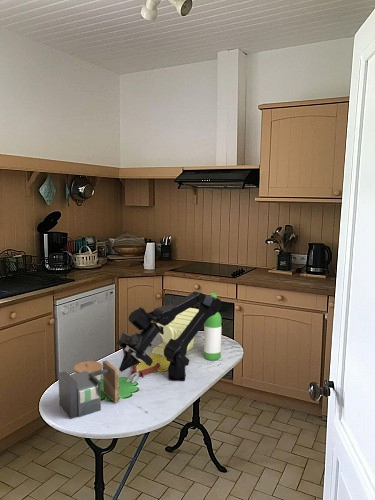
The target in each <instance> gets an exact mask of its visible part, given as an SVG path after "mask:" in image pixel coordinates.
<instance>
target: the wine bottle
mask: <svg viewBox="0 0 375 500" xmlns="http://www.w3.org/2000/svg"><path fill="white" fill-rule="evenodd" d="M209 296H212V297H215V298H218V295H217V293H214V292H213V293H212V292H211V293H210V295H209ZM203 326H204V327H203V328H204V330H203V331H204V333H203V336H204V338H203V356H204V358H205V359H206V360H208V361H218V360H219V359H221V357H222V316H221V313H220V312H219V311H218V312H217V313H216V314H215V315H213V316H211V317H209V318H208V319H207V320H206V322H205V323H204V324H203Z"/></svg>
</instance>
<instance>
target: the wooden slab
mask: <svg viewBox="0 0 375 500" xmlns="http://www.w3.org/2000/svg"><path fill="white" fill-rule="evenodd" d="M101 374H102V375H101ZM97 375H101V376H102V381H101V380H100V381H99V380H98V379H97V378H96V377H95V376H97ZM89 377H91V378H92V379H93V380H94V381H95V382H96V383H97V384H98V396H99V397H100V396H101V394H102V393H101V391H102V392H103V393H104V394H105V395H106V397H108V398H110V399H111V400H112V402H114V403H118V402H119V403H120V371H119V368H117V367H116V366H114V365H113V364H112V363H110V362H109V361H108V360H102V370H100V371H97V372H93V373H89ZM101 382H102V383H101ZM101 384H102V390H100V389H101Z"/></svg>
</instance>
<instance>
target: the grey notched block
mask: <svg viewBox="0 0 375 500" xmlns="http://www.w3.org/2000/svg"><path fill="white" fill-rule="evenodd" d="M100 390H101V388H100ZM101 391H102V390H101ZM101 398H102V397H101V396H100V397H99V396H98V384H97V383H96V382H95V381H94V380H93V379H92V378H91V377H89V372H87V371H83V372H79V373H75V374H74V373H72V374H69V373H68V372H67V371H61V372H58V400H59V401H58V402H59V403H58V404H59V406H60V408H61V407H62V408H63V409H62V408H61V409H62V410H63V411H64V413H65V414H66V413H67V414H66V415H67V416H68V418H69V419H70V420H72V419H74V418H82V417H84V416H87V415H91V414H93V413H97V412H100V411H102V403H101V402H102V401H101V400H102V399H101Z"/></svg>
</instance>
